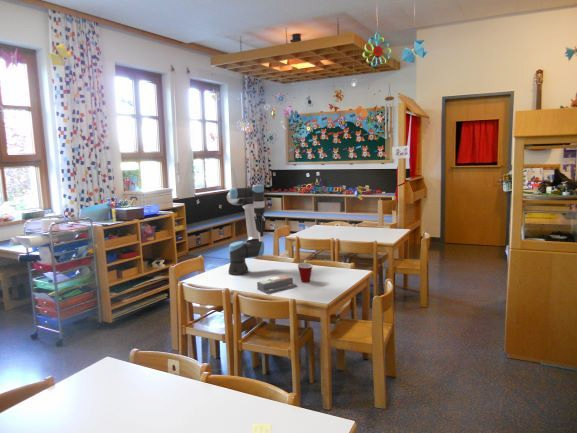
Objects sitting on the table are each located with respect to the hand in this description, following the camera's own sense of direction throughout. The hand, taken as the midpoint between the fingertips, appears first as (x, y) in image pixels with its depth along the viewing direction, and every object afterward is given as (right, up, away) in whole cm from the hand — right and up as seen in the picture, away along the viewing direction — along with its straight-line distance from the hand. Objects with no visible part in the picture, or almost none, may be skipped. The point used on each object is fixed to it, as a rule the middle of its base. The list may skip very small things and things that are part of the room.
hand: (261, 241), depth 304 cm
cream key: (+10, -27, -10) cm, 31 cm away
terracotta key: (+16, -27, -5) cm, 32 cm away
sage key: (+4, -29, -13) cm, 32 cm away
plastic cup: (+31, -28, +1) cm, 42 cm away
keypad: (+11, -31, -11) cm, 35 cm away
